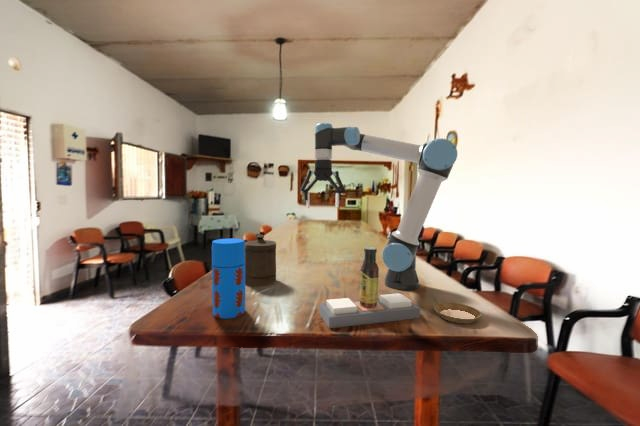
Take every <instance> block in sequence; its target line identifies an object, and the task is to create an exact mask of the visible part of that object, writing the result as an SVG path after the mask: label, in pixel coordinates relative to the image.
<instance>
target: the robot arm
mask: <svg viewBox="0 0 640 426" xmlns="http://www.w3.org/2000/svg"><path fill="white" fill-rule="evenodd" d="M314 130H315V133H314V159H315V160H314V170H311V169H309V170H308V171H307V174H306V177H305V179H304V180H303V183H302V185H301V187H300V189H299V190H300V192H303V195H304V197H303V199H304V201H306V208H307V209H310V195H311V194H310V192H309V191H310V190H311V189H313V186H314V185H315V184H316V183H317V182H318V181H319V182H323V181H324V182H328V183H329V184H330V185H331V186H332V188H333V189H334V190H335V191H336V193H335V201H334V202H335V203H334V204H335V206H334V207H335V208H339V207H340V201H341V200H342V193H345V192H346V188H345V186H344V185H343V182H342V180H341V178H340V175H339V174H340V173H339V171H338V170H336V171H333V170H332V169H333V168H332V167H333V166H332V165H333V163H332V162H333V161H332V159H333V147H335V146H337V147H339V146H344V147H346V148H348V149H350V150H352V151H360V152H364V153H369V154H374V155H378V156H385V157H387V158H393V159H397V160H401V161H406V162H412V163H416V164H417V166H418V168H417V172H418V174H419V175H418V178H417V180H416V182H415V185H414V187H413V190H412V191H411V195H410V197H409V200H408V202H407V204H406V207H405V210H404V212H403V215H402V218H401V220H400V222H399V223H398V227H397V229H396V230H395V231H392V232H391V234H390V236H389V239H388V241H387V243H386V246H385V247H383V250H382V254H381V257H382V261H383V263H384V265H385V266H386V267H387V272H386V274H385V277H384V285H385V286H387V287H389V288H392V289H395V290H401V291H402V290H404V291H405V290H406V291H408V290H410V291H411V290H416V289H418V288H419V287H420V280H419V276H418V274H417V273H418V272H417V270H416V269H417V268H416V265H417V263H416V261H417V251H418V248H419V246H420V241H419V236H420V234H421V231H422V229H423V226H424V224H425V221H426V219H427V217H428V214H429V212H430V210H431V208H432V205H433V203H434V200H435V198H436V196H437V193H438V191H439V188H440V186H441V184H442V182H444V181H446V180H448V178H449V176H450V173H451V171H452V169H453V167H454V165H455V162H456V160H458V149H457V147H456V144H454V143H453V142H452V141H451V140H449V139H446V138H436V139H432V140H431V141H429V142H428V143H423V144H421V145H420V144H414V143H410V142H405V141H400V140H394V139H389V138H385V137H378V136H373V135H369V134H363V133H360V130H359V128H358V127H357V126H344V127H333V124H331V123H329V122H320V123H317V124H316V125H315V129H314ZM313 175H314V176H315V177H314V178H313V180H312V181H311V182H310V183H309V181H310V179H311V177H312V176H313ZM332 175H333V177H334V179H335V181H334V179H333V177H332ZM308 183H309V184H308ZM336 183H337V184H336Z"/></svg>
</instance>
